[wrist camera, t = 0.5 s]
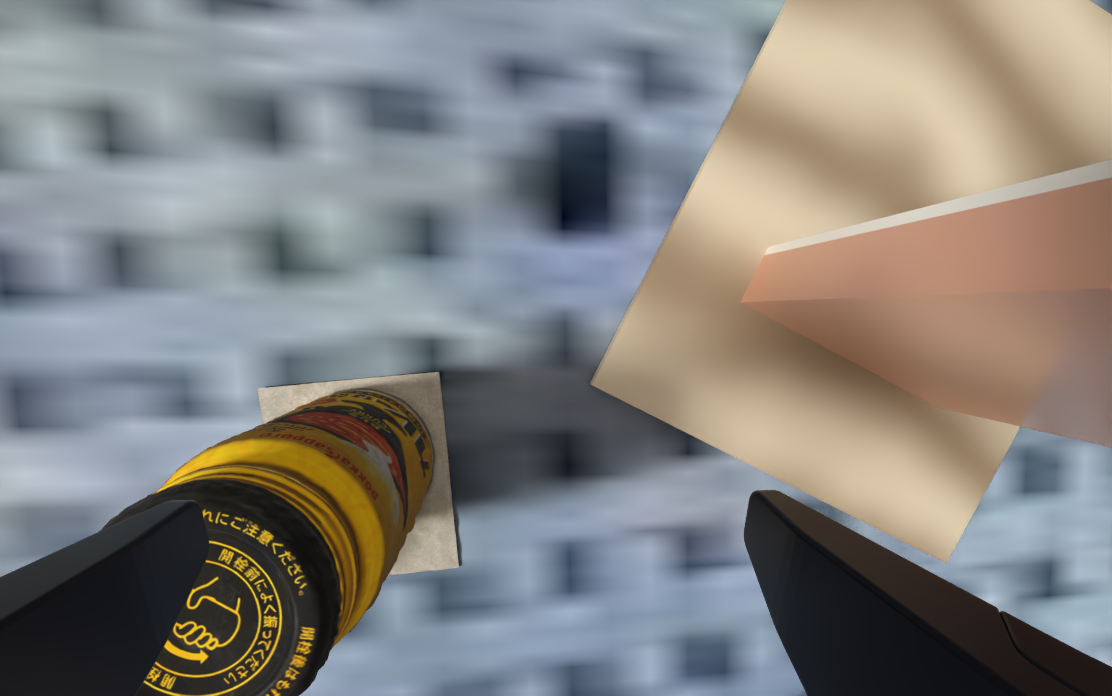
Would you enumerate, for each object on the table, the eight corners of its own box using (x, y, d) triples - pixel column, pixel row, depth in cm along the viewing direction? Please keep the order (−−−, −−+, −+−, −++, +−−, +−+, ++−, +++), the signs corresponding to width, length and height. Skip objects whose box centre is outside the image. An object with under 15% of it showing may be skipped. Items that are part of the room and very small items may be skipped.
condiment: (439, 370, 22) (350, 439, 10) (459, 565, 23) (396, 841, 11) (260, 387, 22) (-49, 479, 10) (285, 585, 22) (22, 896, 11)
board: (935, 557, 24) (946, 563, 24) (589, 383, 23) (591, 385, 22) (1191, 83, 24) (1208, 77, 23) (854, -133, 22) (863, -146, 21)
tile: (935, 407, 23) (1556, 549, 9) (739, 302, 22) (1108, 288, 8) (963, 353, 23) (1632, 418, 9) (768, 246, 22) (1188, 139, 8)
